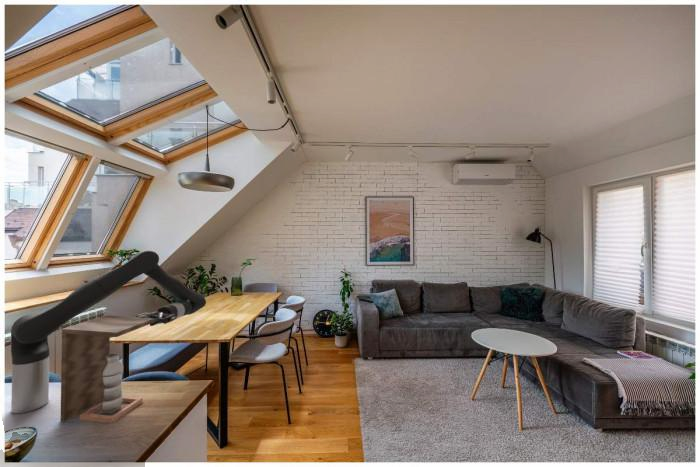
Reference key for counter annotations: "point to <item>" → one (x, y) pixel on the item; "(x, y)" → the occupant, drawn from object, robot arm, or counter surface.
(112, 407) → the plastic bottle
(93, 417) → the square wooden frame
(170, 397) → the counter surface
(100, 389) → the bracket shelf
